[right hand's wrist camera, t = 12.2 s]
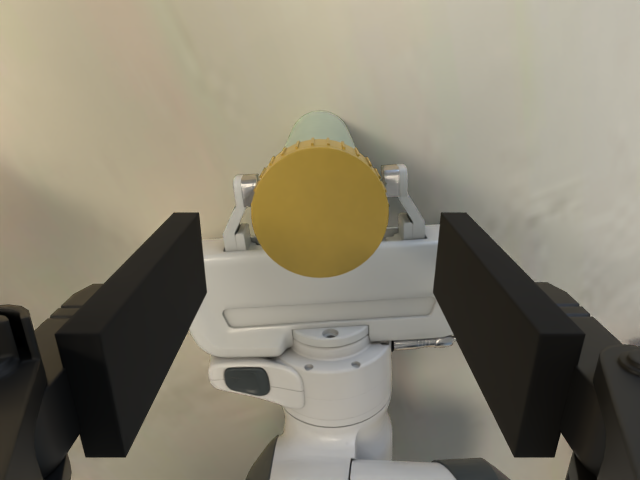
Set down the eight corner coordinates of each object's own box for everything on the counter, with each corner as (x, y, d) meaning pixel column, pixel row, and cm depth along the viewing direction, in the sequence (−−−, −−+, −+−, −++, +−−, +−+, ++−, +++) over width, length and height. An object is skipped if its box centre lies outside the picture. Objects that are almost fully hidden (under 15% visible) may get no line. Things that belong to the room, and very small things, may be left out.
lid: (331, 108, 18) (332, 113, 16) (408, 212, 19) (418, 227, 18) (229, 191, 19) (219, 205, 17) (310, 282, 21) (309, 303, 19)
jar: (325, 97, 33) (330, 130, 17) (362, 147, 34) (400, 222, 18) (277, 136, 34) (238, 203, 18) (315, 183, 35) (311, 285, 19)
